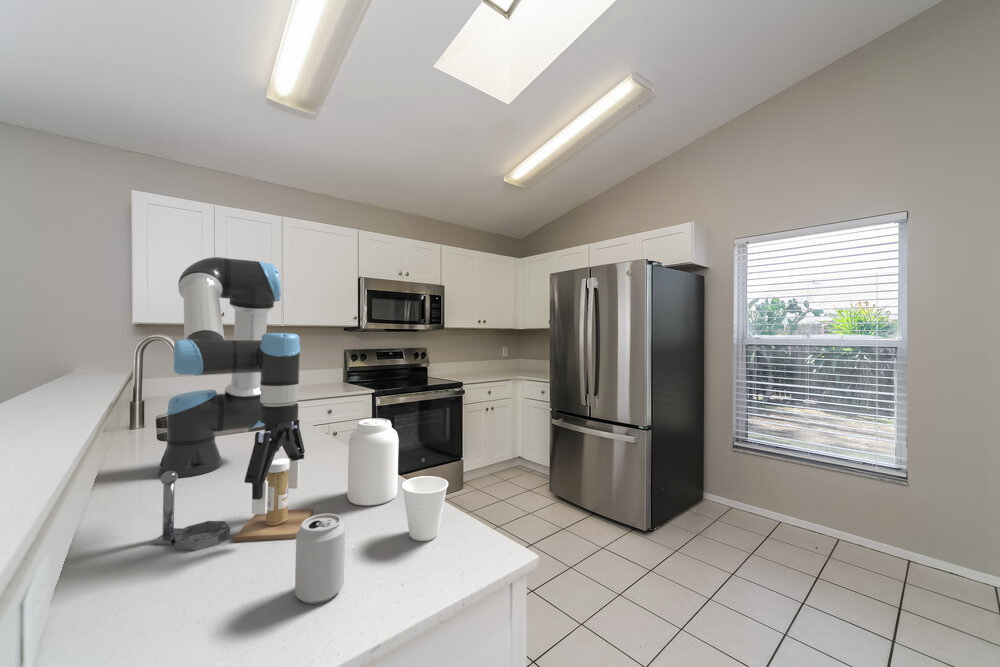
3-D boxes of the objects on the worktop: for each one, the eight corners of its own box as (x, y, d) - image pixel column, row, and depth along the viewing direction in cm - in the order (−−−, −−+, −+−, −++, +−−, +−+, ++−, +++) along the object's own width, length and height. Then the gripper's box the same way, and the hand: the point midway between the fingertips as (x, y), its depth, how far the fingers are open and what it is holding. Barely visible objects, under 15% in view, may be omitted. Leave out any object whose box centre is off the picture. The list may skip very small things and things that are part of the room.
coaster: (257, 515, 95) (257, 511, 95) (312, 512, 97) (312, 508, 97) (234, 542, 83) (234, 537, 83) (297, 538, 85) (297, 533, 85)
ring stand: (178, 527, 89) (179, 463, 88) (237, 528, 89) (239, 465, 89) (142, 549, 80) (143, 478, 80) (208, 551, 80) (210, 480, 80)
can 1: (305, 579, 72) (306, 510, 72) (349, 577, 72) (350, 510, 72) (286, 607, 64) (288, 531, 64) (335, 606, 65) (337, 531, 65)
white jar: (350, 510, 99) (352, 428, 99) (344, 491, 110) (346, 417, 110) (402, 501, 105) (404, 423, 105) (391, 484, 116) (393, 414, 116)
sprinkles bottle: (289, 523, 90) (290, 462, 90) (265, 528, 87) (266, 465, 87) (286, 515, 93) (288, 456, 93) (263, 519, 91) (265, 459, 91)
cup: (454, 528, 91) (456, 479, 91) (433, 550, 82) (434, 496, 82) (415, 520, 95) (416, 473, 95) (390, 541, 85) (392, 488, 85)
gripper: (290, 393, 102) (288, 478, 103) (224, 414, 78) (222, 526, 78) (320, 394, 103) (318, 479, 103) (264, 415, 78) (261, 527, 78)
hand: (277, 499), depth 90 cm, fingers open, 13 cm apart
